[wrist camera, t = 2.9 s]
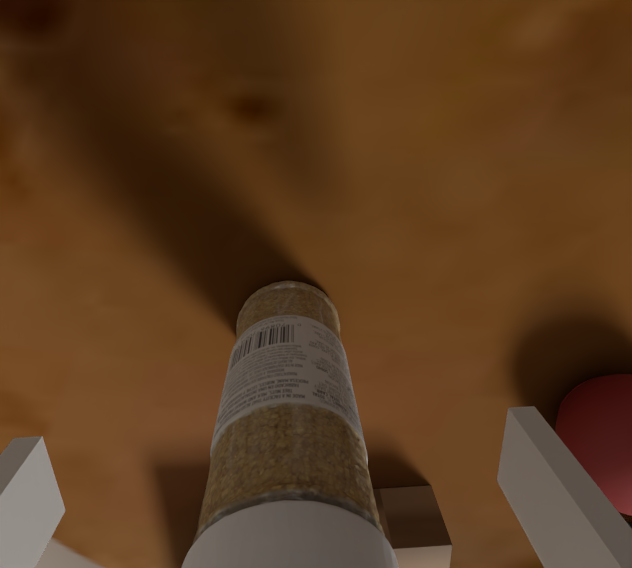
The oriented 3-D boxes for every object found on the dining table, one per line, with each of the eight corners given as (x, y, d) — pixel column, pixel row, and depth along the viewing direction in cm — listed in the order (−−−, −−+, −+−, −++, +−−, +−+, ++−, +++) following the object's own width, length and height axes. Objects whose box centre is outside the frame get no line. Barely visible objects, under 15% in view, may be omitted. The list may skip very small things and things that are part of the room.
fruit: (541, 347, 24) (528, 469, 18) (679, 348, 21) (719, 494, 15) (553, 435, 27) (545, 569, 20) (680, 447, 24) (715, 608, 17)
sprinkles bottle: (250, 375, 21) (198, 767, 9) (225, 286, 20) (119, 622, 7) (348, 358, 21) (429, 730, 9) (332, 266, 20) (406, 573, 7)
